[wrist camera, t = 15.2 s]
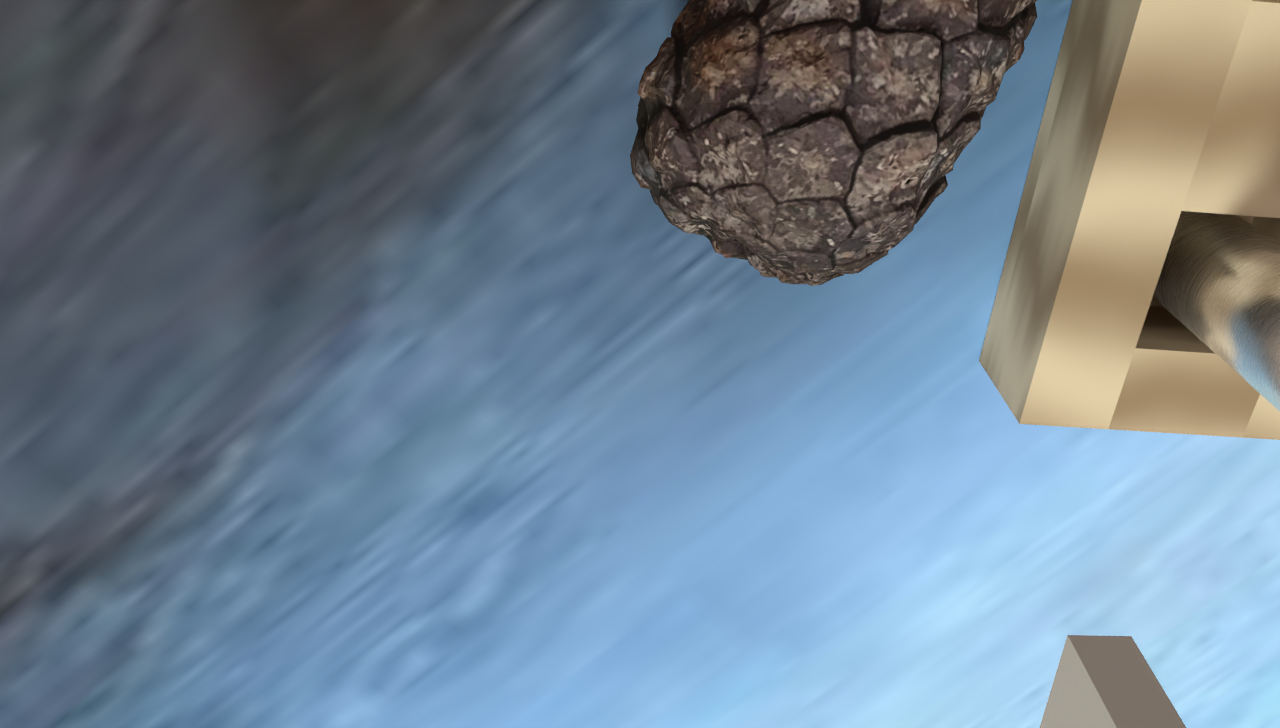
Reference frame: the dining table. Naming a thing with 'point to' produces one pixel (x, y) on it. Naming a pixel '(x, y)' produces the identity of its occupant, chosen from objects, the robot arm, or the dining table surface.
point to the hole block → (1137, 216)
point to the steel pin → (1227, 293)
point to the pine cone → (817, 121)
